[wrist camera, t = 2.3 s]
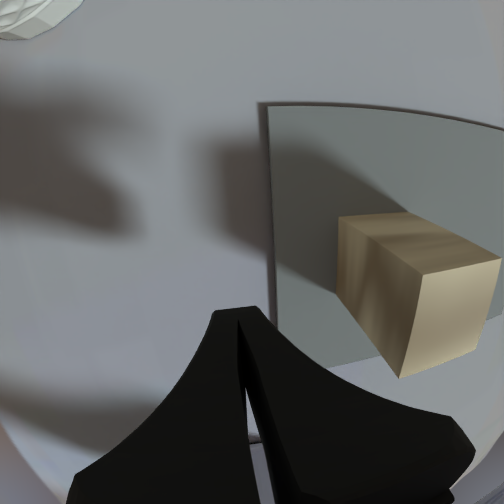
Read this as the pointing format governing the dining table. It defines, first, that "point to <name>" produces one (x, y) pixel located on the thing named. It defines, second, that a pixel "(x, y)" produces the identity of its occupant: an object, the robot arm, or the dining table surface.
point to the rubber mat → (369, 204)
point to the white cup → (32, 16)
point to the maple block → (414, 287)
